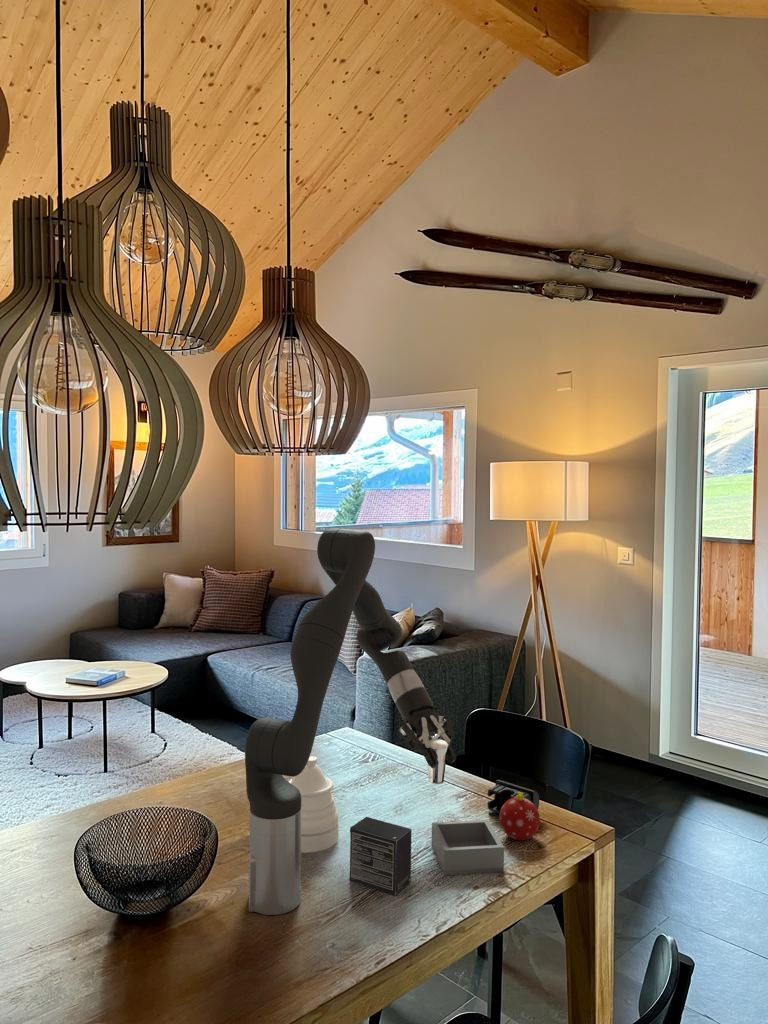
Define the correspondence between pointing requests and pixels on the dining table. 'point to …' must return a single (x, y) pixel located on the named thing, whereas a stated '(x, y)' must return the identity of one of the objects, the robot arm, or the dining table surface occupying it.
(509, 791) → the end cap
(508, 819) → the christmas ornament
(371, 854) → the small box
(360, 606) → the robot arm
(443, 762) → the milkshake
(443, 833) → the bin
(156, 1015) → the dining table surface
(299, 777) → the honey pot
